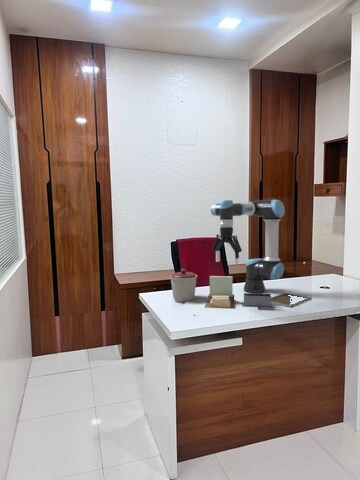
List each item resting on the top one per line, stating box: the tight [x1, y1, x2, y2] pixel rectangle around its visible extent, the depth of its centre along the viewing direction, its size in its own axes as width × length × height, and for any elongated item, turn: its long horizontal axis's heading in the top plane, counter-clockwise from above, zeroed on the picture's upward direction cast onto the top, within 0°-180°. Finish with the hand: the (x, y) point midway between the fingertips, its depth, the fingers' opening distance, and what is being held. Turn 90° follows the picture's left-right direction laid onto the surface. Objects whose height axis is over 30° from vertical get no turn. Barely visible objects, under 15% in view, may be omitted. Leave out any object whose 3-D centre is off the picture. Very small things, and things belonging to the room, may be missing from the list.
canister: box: [169, 268, 198, 303], centre depth 231 cm, size 18×18×21 cm
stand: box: [241, 292, 274, 311], centre depth 214 cm, size 10×18×8 cm, turn 80°
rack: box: [204, 293, 237, 310], centre depth 218 cm, size 20×18×6 cm
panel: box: [209, 275, 234, 297], centre depth 221 cm, size 2×14×16 cm, turn 80°
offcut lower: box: [210, 299, 231, 307], centre depth 214 cm, size 8×12×2 cm, turn 80°
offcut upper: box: [212, 296, 229, 303], centre depth 214 cm, size 7×10×2 cm
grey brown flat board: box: [271, 292, 312, 309], centre depth 227 cm, size 19×2×30 cm
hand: (226, 262), depth 208 cm, fingers open, 13 cm apart
